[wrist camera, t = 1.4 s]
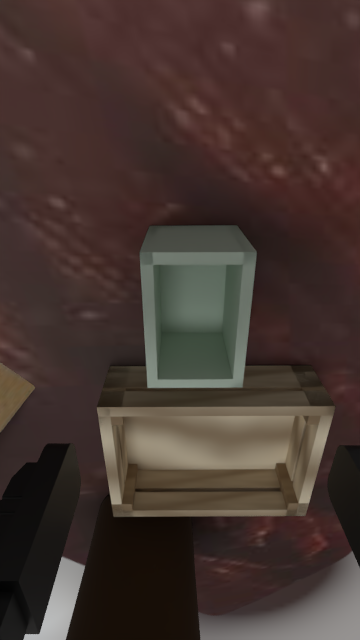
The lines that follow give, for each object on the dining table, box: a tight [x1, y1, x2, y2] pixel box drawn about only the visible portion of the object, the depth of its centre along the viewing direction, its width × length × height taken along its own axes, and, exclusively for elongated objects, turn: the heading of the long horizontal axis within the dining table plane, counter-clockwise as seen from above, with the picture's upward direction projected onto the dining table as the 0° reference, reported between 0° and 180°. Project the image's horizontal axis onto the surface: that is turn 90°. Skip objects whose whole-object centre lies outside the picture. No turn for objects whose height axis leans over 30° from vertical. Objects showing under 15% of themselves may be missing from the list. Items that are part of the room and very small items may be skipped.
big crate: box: [97, 365, 336, 517], centre depth 27 cm, size 12×16×5 cm
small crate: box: [140, 225, 257, 388], centre depth 20 cm, size 8×6×6 cm
